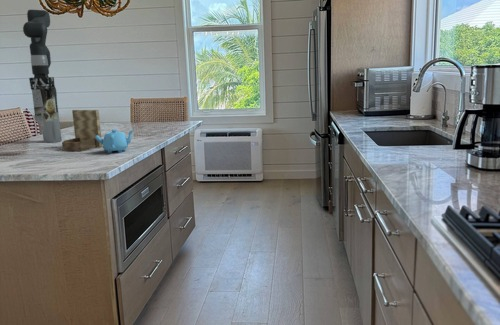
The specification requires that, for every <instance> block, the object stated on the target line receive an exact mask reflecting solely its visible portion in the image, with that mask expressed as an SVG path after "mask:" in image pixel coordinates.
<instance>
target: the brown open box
mask: <svg viewBox="0 0 500 325" xmlns="http://www.w3.org/2000/svg"><path fill="white" fill-rule="evenodd" d="M61 143H62V144H61V145H62V151H67V152H69V151H70V152H83V151H88V150H92V149H95V148H98V147H97V145H96V139H95V138H93V139H89V140H84V141H80V138H75V137H74V138H70V139H66V140H62V141H61Z"/></svg>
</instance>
